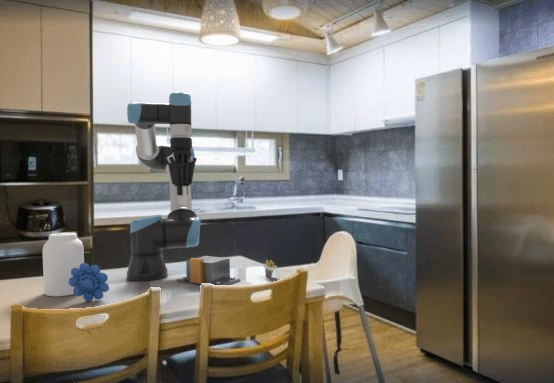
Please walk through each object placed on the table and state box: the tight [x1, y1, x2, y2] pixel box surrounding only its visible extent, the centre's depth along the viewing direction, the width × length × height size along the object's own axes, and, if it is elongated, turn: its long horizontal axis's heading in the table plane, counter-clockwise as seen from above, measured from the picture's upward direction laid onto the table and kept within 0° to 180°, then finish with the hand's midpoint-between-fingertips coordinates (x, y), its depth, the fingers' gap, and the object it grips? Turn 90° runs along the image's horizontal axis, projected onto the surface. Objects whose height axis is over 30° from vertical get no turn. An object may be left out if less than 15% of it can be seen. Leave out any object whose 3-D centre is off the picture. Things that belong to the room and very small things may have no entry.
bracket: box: [176, 255, 241, 286], centre depth 162 cm, size 20×12×8 cm, turn 57°
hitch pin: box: [189, 257, 204, 284], centre depth 163 cm, size 5×16×8 cm, turn 147°
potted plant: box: [261, 259, 278, 282], centre depth 165 cm, size 12×18×7 cm, turn 16°
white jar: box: [42, 232, 85, 298], centre depth 149 cm, size 12×12×20 cm
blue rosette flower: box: [68, 262, 110, 302], centre depth 137 cm, size 12×7×12 cm, turn 104°
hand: (182, 204), depth 157 cm, fingers closed
